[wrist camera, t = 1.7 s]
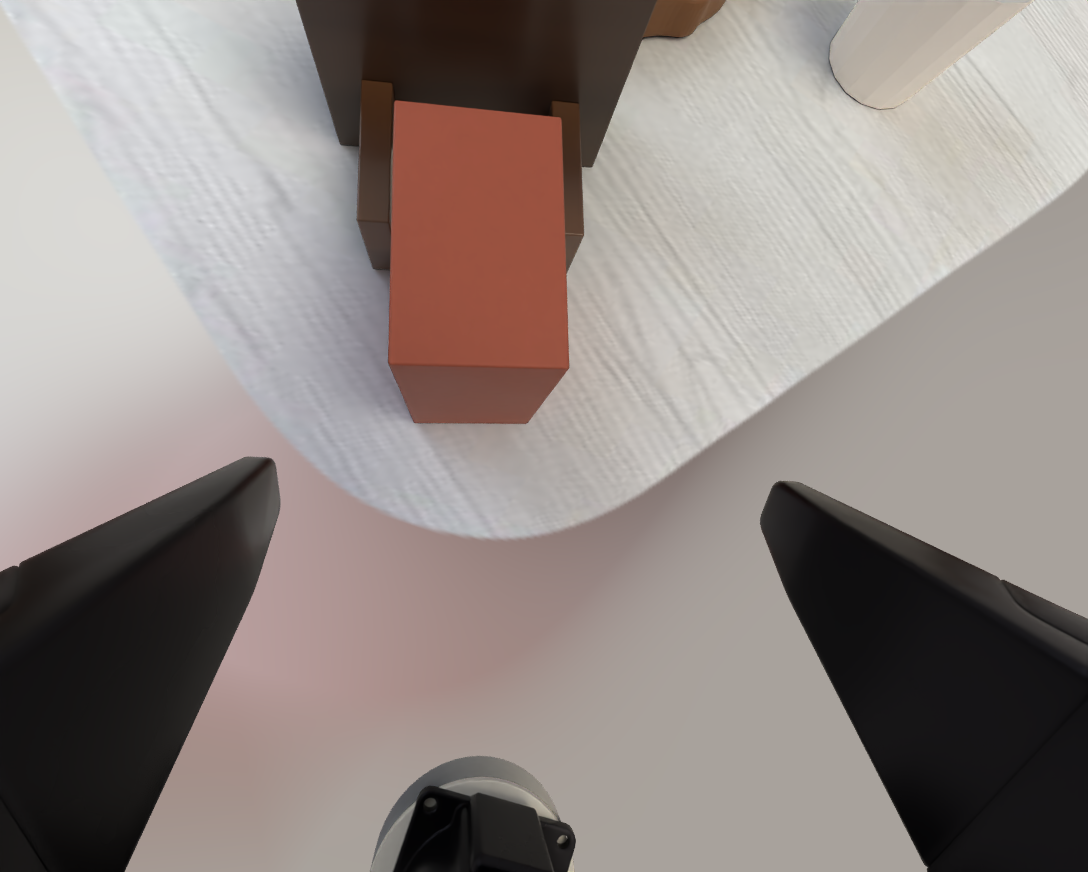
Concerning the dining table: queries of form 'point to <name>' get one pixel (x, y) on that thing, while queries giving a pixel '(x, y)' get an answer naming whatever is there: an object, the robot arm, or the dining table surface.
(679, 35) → the plant
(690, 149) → the dining table surface
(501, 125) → the orange rectangular block
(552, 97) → the dock
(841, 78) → the shot glass
